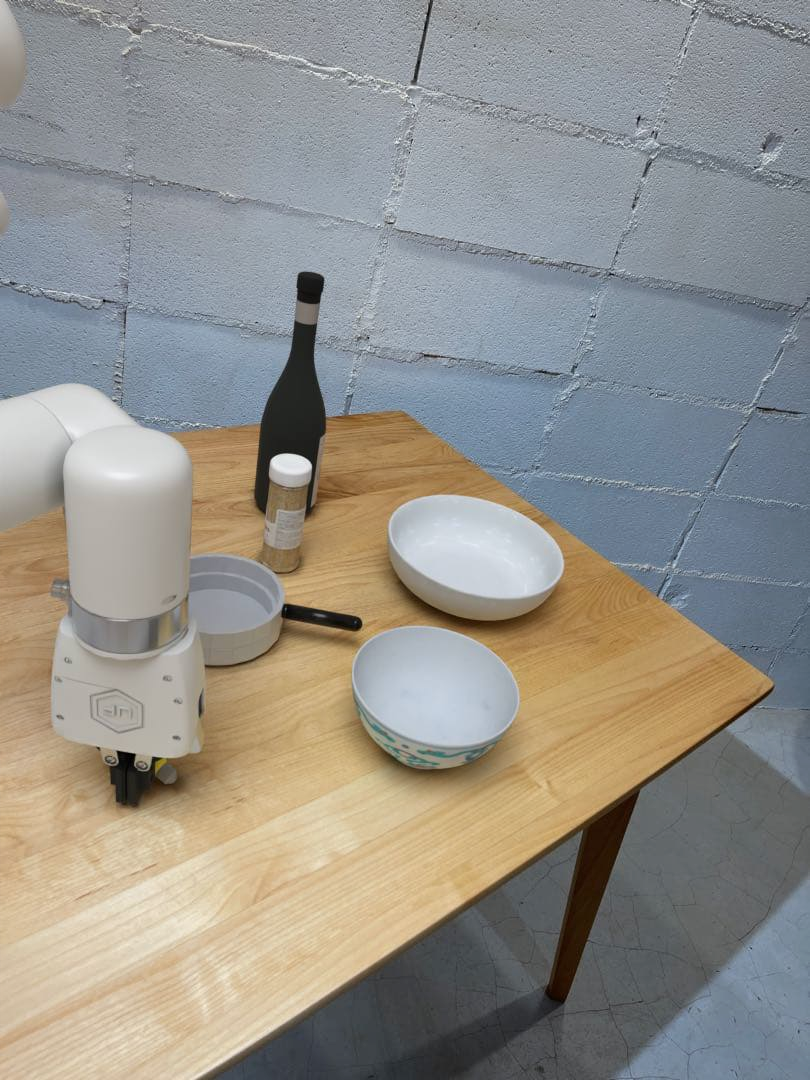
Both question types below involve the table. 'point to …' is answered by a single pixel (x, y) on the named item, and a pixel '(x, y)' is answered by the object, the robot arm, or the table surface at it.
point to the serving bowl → (473, 556)
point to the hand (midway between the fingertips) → (133, 789)
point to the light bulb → (165, 772)
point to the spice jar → (285, 511)
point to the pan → (234, 607)
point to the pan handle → (321, 617)
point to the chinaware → (433, 695)
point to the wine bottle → (296, 399)
